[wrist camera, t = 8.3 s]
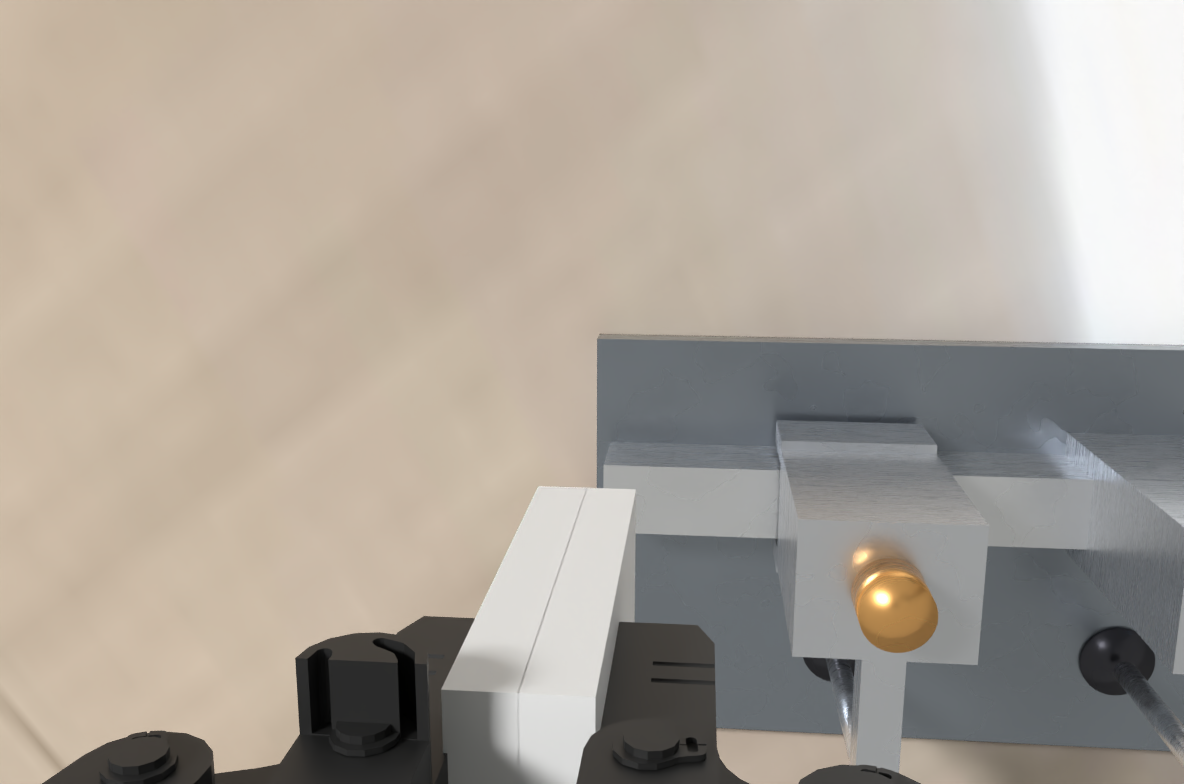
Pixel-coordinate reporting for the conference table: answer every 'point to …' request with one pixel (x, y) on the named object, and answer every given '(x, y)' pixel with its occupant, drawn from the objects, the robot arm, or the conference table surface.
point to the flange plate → (952, 418)
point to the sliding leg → (875, 567)
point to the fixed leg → (1139, 552)
